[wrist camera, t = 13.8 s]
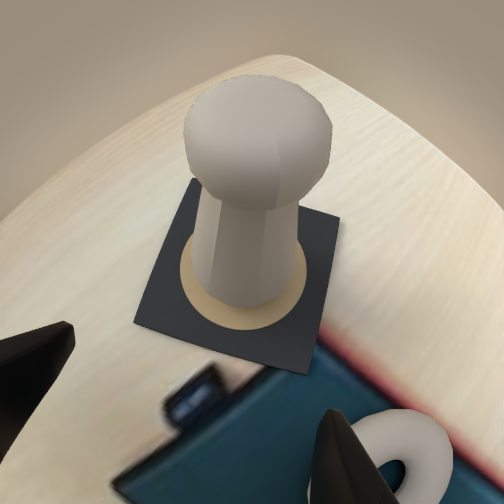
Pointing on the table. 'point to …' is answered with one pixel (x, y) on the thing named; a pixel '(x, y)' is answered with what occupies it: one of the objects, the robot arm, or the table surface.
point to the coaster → (242, 318)
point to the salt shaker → (252, 182)
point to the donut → (409, 452)
